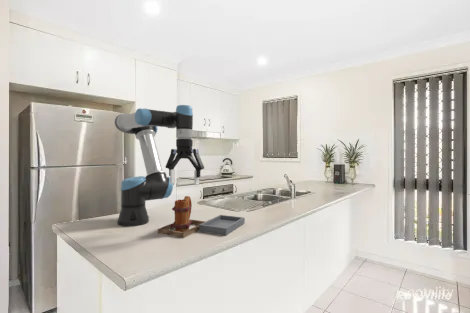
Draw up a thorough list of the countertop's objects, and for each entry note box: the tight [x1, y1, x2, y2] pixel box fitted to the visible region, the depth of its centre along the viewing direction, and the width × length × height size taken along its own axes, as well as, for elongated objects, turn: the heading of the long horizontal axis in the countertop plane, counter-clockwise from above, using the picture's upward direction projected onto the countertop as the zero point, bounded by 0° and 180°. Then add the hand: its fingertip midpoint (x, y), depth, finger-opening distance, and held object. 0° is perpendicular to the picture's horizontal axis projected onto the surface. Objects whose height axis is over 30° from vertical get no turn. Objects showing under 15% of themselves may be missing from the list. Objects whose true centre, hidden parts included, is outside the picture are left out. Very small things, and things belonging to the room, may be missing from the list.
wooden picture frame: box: [157, 218, 207, 239], centre depth 118 cm, size 14×20×2 cm
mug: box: [171, 195, 193, 232], centre depth 118 cm, size 15×8×15 cm, turn 168°
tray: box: [198, 214, 246, 236], centre depth 122 cm, size 14×21×3 cm, turn 156°
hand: (184, 183), depth 118 cm, fingers open, 13 cm apart
